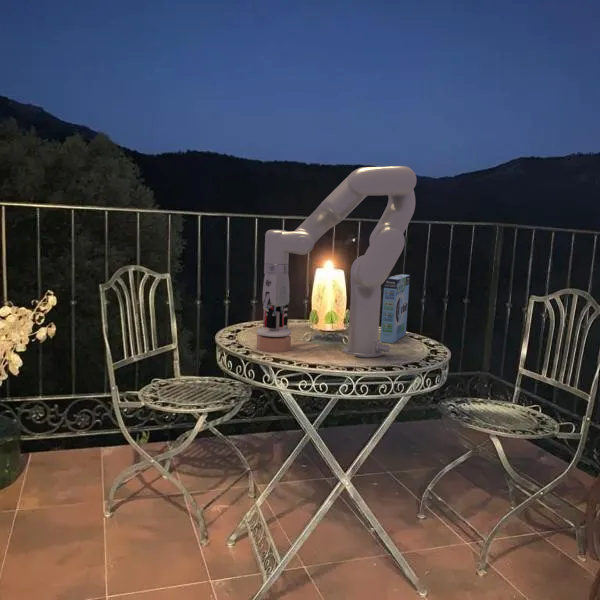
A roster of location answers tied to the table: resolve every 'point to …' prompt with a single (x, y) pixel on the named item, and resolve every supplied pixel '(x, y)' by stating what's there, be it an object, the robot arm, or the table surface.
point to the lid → (274, 332)
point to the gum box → (394, 308)
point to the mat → (303, 345)
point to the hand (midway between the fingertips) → (274, 326)
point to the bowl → (273, 343)
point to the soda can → (266, 319)
